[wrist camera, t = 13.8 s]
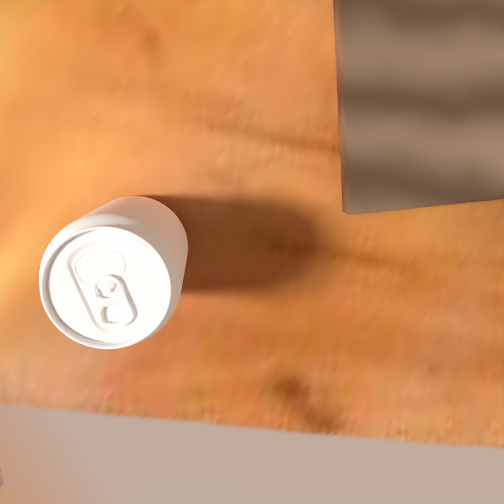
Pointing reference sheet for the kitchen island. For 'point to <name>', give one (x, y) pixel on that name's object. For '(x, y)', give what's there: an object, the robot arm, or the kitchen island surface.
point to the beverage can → (115, 273)
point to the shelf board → (419, 102)
